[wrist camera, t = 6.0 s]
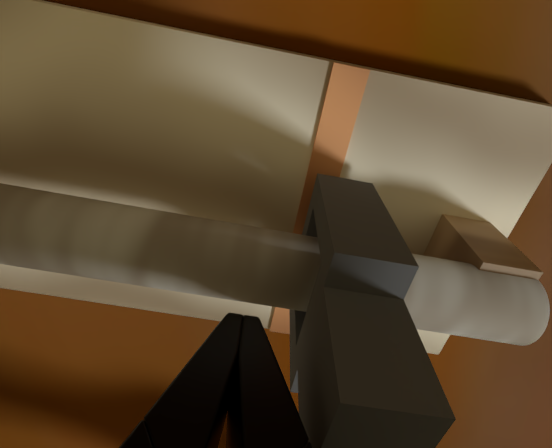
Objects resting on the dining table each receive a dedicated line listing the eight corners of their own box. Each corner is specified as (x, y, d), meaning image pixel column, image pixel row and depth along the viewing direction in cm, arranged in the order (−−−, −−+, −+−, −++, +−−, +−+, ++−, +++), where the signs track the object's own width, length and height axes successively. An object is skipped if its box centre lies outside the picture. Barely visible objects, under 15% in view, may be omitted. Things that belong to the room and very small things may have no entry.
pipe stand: (427, 331, 19) (482, 447, 14) (-78, 252, 17) (-237, 350, 12) (551, 104, 13) (726, 154, 8) (-189, -48, 12) (-588, -112, 6)
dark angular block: (335, 291, 15) (379, 525, 8) (289, 284, 15) (291, 514, 8) (372, 183, 12) (483, 381, 5) (317, 173, 12) (358, 362, 5)
